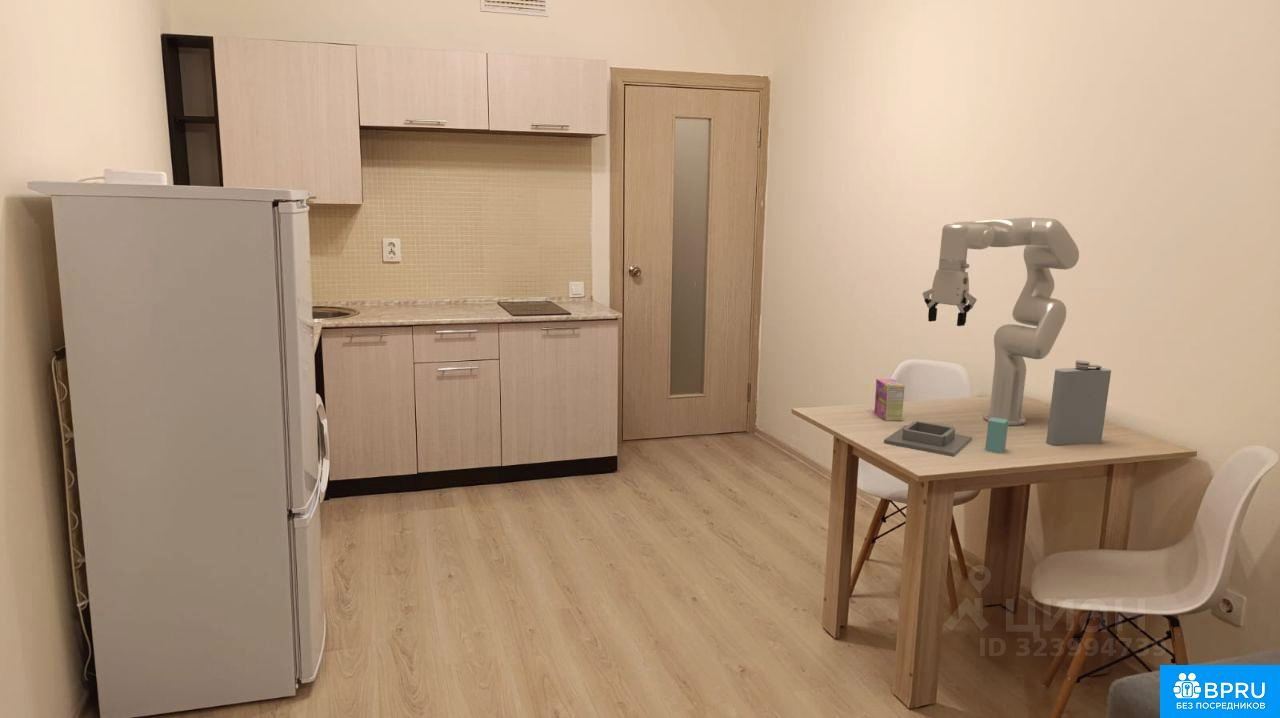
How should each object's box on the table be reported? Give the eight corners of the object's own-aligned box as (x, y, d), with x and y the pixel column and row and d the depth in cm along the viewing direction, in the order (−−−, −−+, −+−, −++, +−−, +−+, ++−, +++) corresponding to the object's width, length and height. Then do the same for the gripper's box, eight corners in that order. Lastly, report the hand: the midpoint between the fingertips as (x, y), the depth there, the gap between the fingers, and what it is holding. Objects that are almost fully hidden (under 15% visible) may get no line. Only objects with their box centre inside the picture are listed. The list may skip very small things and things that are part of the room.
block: (988, 446, 246) (992, 417, 244) (1005, 449, 243) (1008, 419, 242) (985, 450, 242) (988, 420, 240) (1001, 453, 240) (1005, 423, 238)
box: (873, 412, 281) (876, 378, 279) (890, 412, 282) (892, 378, 279) (884, 421, 271) (887, 385, 269) (902, 421, 272) (905, 385, 269)
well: (905, 428, 263) (906, 415, 262) (971, 440, 252) (972, 427, 251) (883, 443, 247) (884, 429, 246) (953, 456, 236) (955, 442, 235)
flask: (1092, 439, 256) (1103, 358, 251) (1103, 443, 251) (1114, 362, 246) (1041, 441, 253) (1051, 359, 248) (1051, 445, 248) (1062, 363, 243)
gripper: (986, 268, 244) (979, 326, 248) (933, 263, 258) (928, 318, 261) (971, 269, 240) (965, 328, 243) (919, 264, 253) (913, 320, 257)
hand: (946, 323), depth 252 cm, fingers open, 9 cm apart
